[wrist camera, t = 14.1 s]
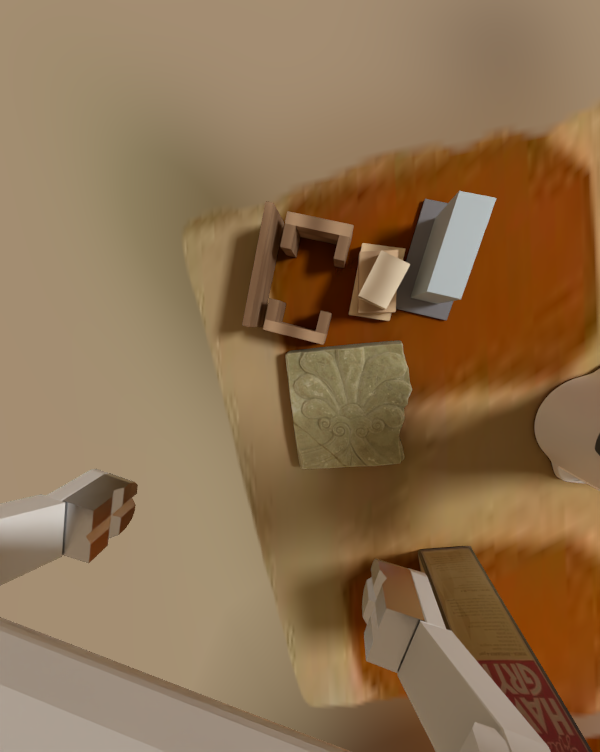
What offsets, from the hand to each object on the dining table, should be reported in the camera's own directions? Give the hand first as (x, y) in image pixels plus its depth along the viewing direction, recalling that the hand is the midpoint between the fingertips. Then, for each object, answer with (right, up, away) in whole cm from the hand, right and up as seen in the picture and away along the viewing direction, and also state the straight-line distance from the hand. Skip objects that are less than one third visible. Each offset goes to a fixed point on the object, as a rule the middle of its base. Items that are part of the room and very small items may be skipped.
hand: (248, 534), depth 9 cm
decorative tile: (+10, 0, +37) cm, 39 cm away
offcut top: (+13, +18, +29) cm, 36 cm away
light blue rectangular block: (+21, +21, +31) cm, 43 cm away
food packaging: (+28, -31, +40) cm, 58 cm away
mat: (+21, +22, +31) cm, 43 cm away
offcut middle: (+13, +18, +31) cm, 38 cm away
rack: (+2, +20, +34) cm, 39 cm away
